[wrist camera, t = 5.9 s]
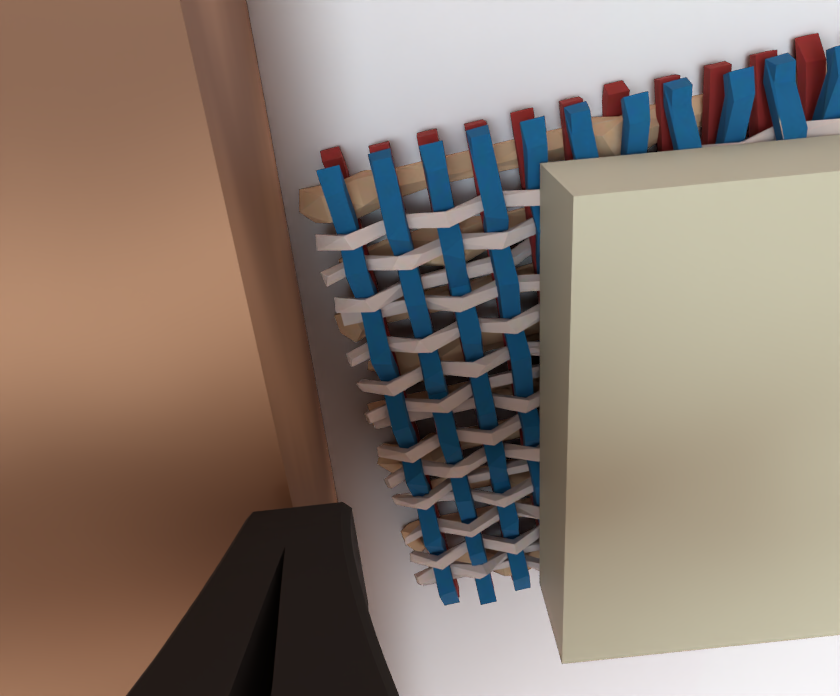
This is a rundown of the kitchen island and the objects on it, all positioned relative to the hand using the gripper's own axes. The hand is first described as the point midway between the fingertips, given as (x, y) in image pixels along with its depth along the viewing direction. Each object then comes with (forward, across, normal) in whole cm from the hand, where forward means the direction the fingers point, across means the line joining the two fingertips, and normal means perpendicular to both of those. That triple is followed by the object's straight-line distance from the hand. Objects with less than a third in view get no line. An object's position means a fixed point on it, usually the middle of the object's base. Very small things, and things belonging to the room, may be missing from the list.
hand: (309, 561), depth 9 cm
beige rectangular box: (+1, -7, 0) cm, 7 cm away
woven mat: (+6, -6, 0) cm, 8 cm away
